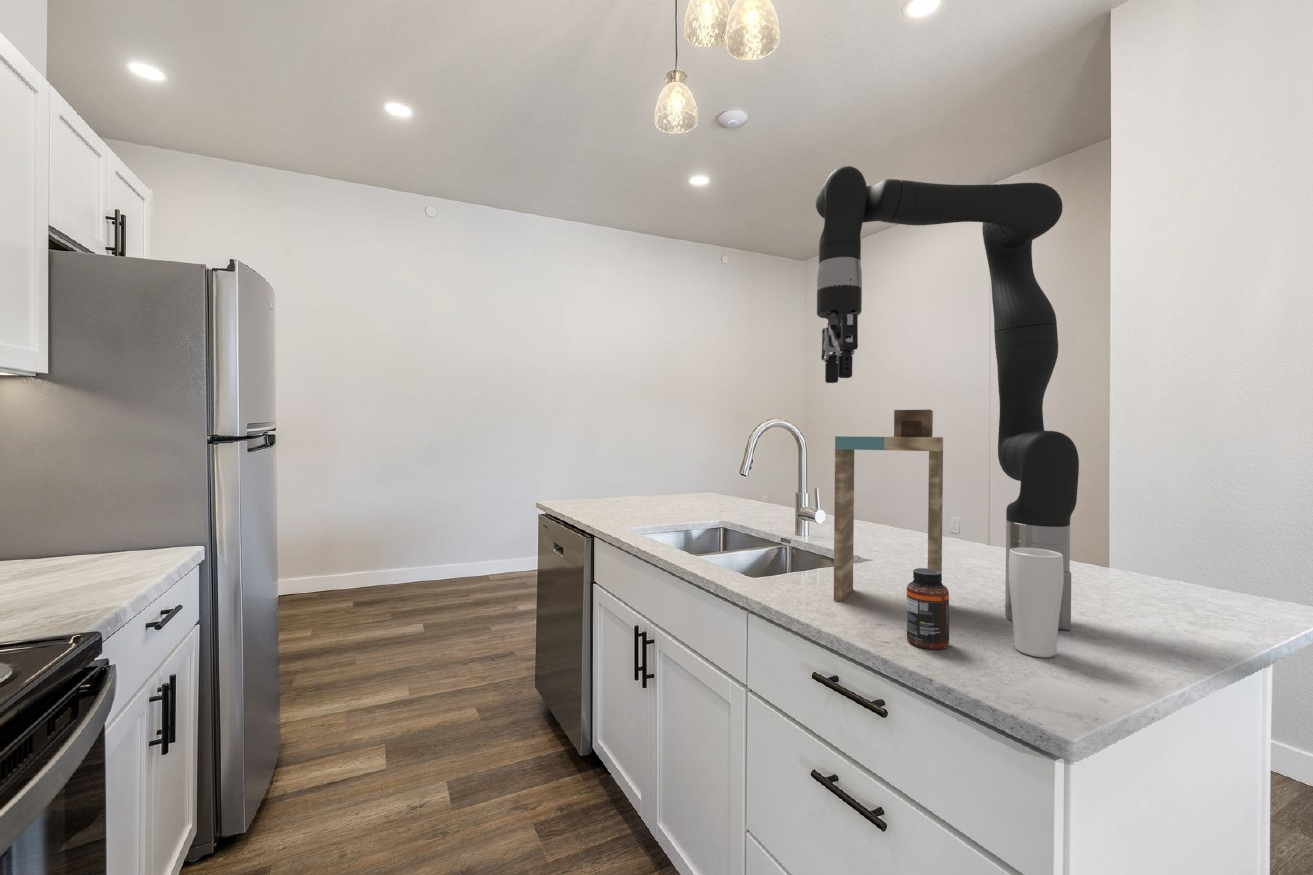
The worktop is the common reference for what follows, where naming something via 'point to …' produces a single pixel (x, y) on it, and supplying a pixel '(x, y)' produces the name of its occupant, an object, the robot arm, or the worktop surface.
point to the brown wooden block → (913, 423)
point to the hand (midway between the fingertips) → (838, 380)
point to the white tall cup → (1035, 599)
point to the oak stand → (846, 500)
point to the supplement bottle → (927, 610)
